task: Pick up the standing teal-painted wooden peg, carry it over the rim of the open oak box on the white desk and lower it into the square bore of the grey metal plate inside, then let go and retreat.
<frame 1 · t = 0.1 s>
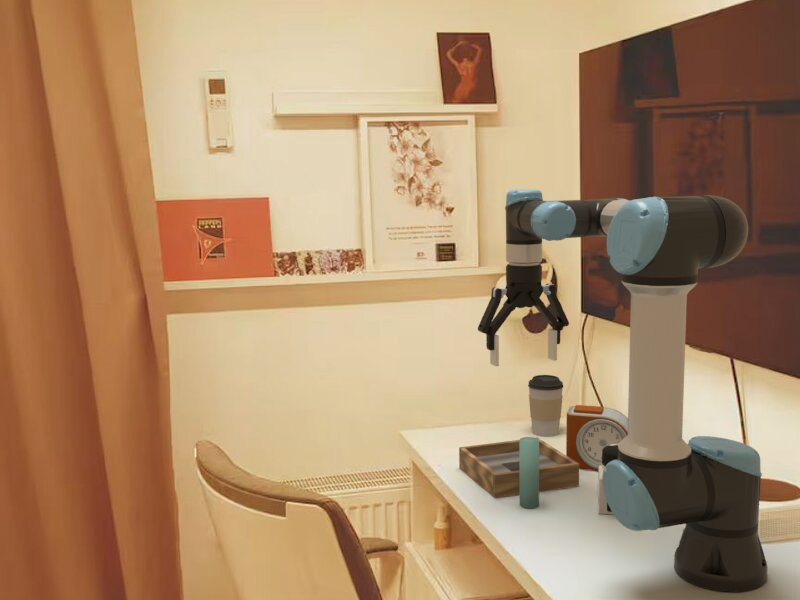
hand: (523, 362, 194), 28 cm above the table, fingers open, 13 cm apart
coffee cup: (545, 433, 236), on the table
peg: (529, 505, 188), on the table
container: (617, 509, 185), on the table
socket box: (517, 476, 204), on the table
alarm clock: (599, 466, 211), on the table
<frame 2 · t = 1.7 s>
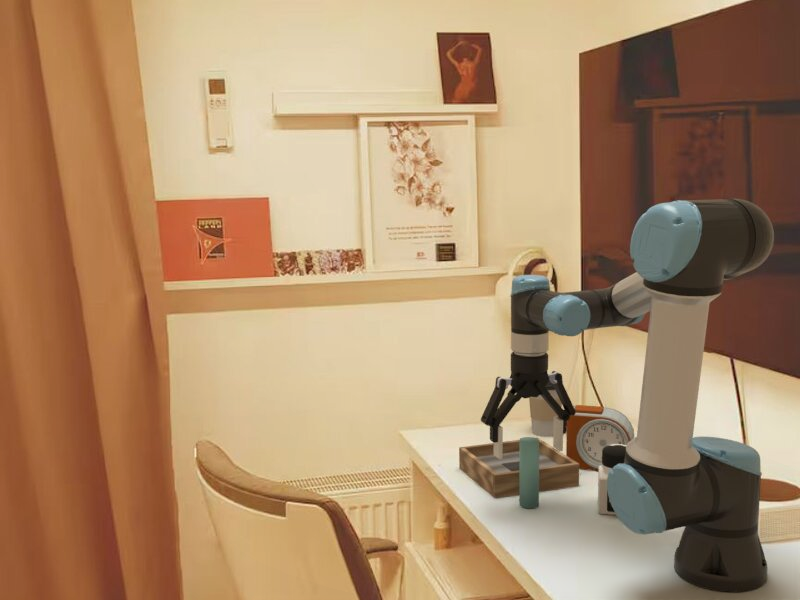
hand: (528, 452, 186), 11 cm above the table, fingers open, 13 cm apart
nothing on the table moved.
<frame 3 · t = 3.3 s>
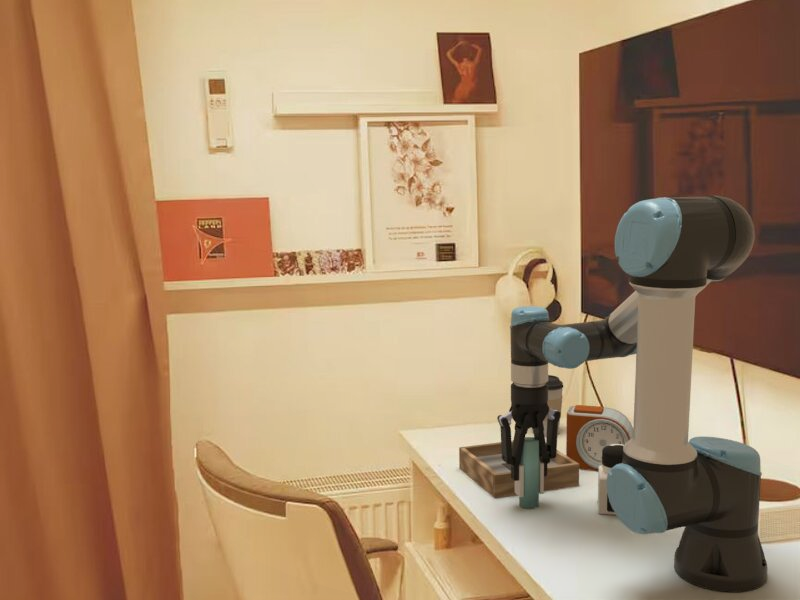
hand: (529, 492, 187), 3 cm above the table, fingers closed on peg, 4 cm apart
peg: (528, 505, 188), on the table, touching gripper
everything else where it was.
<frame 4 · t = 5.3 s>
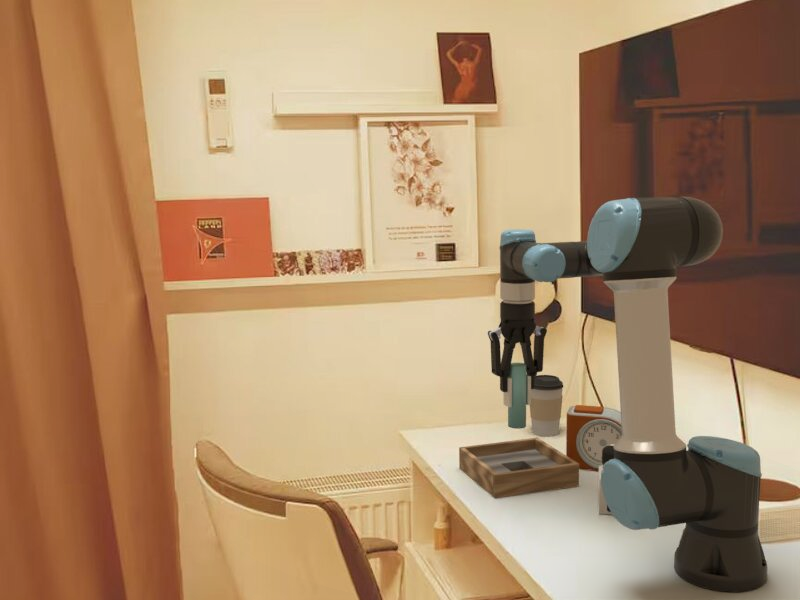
hand: (517, 404, 201), 17 cm above the table, fingers closed on peg, 4 cm apart
peg: (517, 425, 202), point 12 cm above the table, touching gripper
everything else where it was.
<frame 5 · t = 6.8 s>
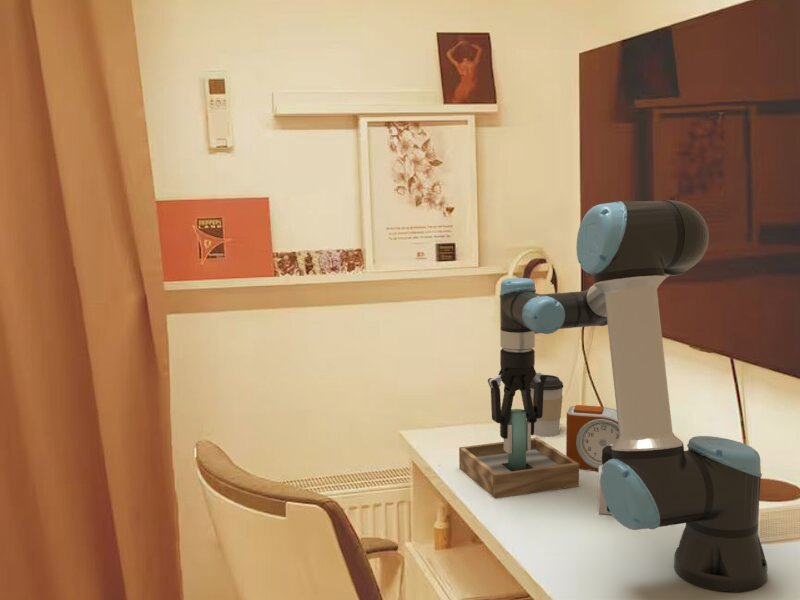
hand: (517, 450, 203), 6 cm above the table, fingers closed on peg, 4 cm apart
peg: (517, 471, 204), point 1 cm above the table, touching gripper
everything else where it was.
when the fingers open (4 cm above the table, at t = 7.4 s): peg stays where it is, resting in socket box.
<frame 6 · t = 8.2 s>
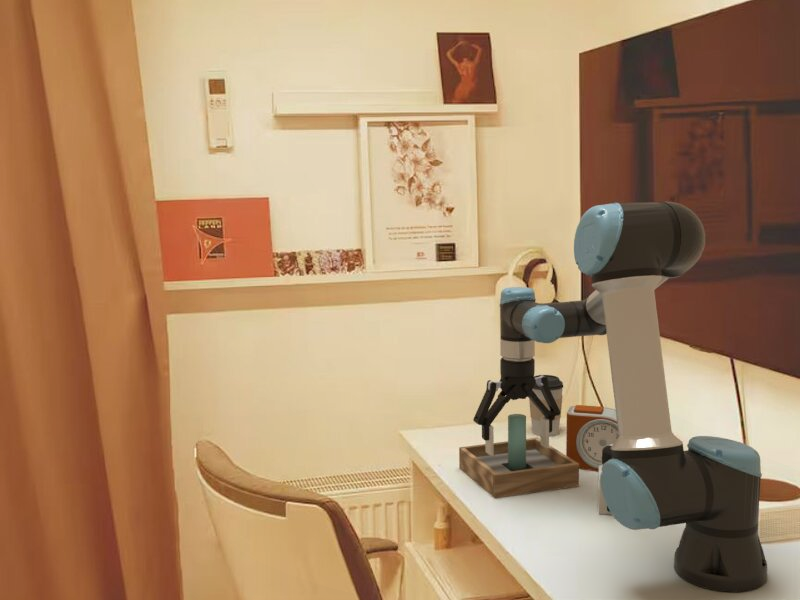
hand: (517, 450, 203), 6 cm above the table, fingers open, 13 cm apart
peg: (517, 476, 204), resting in socket box
everything else where it was.
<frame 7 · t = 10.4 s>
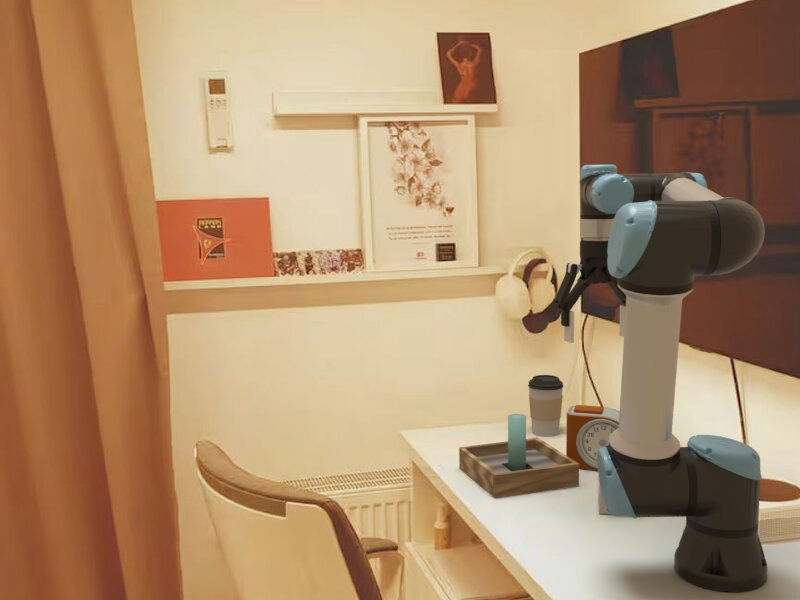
hand: (597, 339, 193), 33 cm above the table, fingers open, 13 cm apart
nothing on the table moved.
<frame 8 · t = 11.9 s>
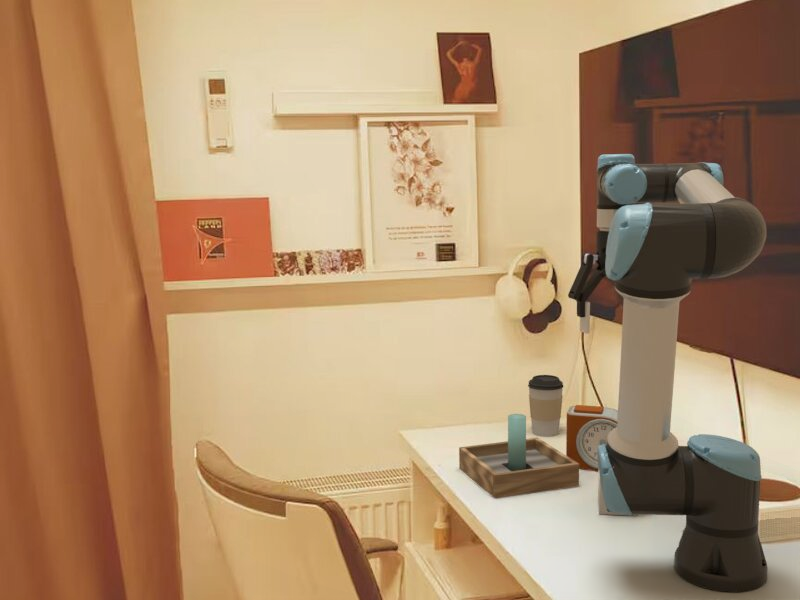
hand: (613, 329, 191), 35 cm above the table, fingers open, 13 cm apart
nothing on the table moved.
at the end: peg 0.2 cm off-centre on the socket box, point 0.0 cm above the socket box's base; peg tilted 0°; the gripper is holding nothing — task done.
